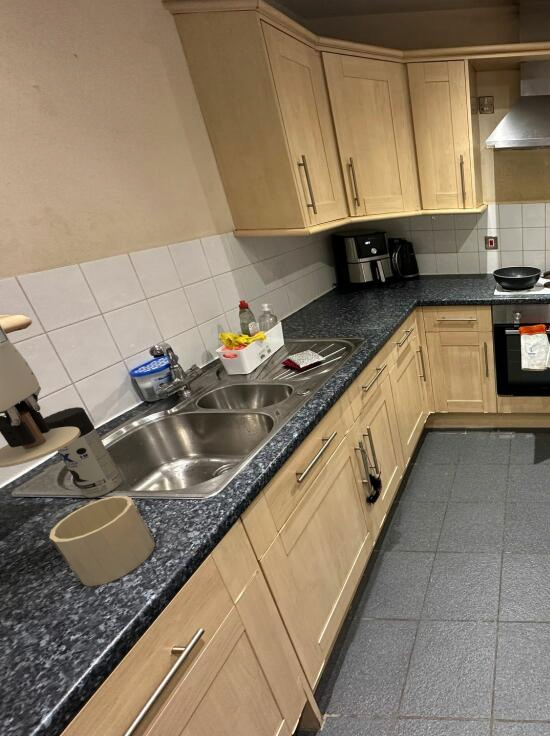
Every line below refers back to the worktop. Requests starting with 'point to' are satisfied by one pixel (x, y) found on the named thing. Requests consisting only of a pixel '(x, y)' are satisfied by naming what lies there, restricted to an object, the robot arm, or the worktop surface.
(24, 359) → the robot arm
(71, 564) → the pot
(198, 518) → the worktop surface
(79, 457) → the spray can
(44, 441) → the pot lid
